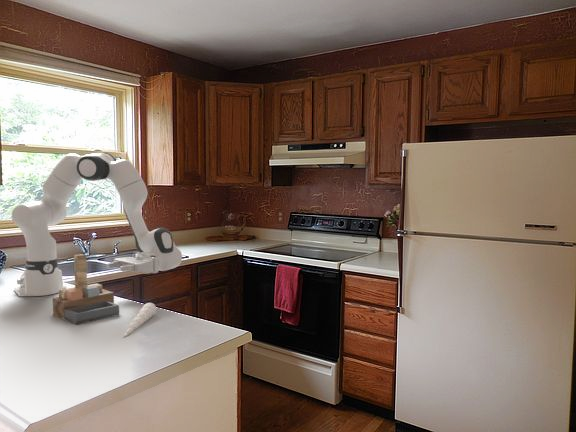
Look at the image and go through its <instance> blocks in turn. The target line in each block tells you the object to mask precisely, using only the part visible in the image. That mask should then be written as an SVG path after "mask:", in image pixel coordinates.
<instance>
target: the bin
mask: <svg viewBox="0 0 576 432" xmlns="http://www.w3.org/2000/svg"><path fill="white" fill-rule="evenodd" d="M64 313H65V319H64V320H65V321H67V322H70V323H72V324H74V325H76V326H77V325H83V324H87V323H89V322H90V323H91V322H95V321H98V320H103V319H107V318H111V317H112V318H113V317H115V316H119V315H120V304H118V303H117V304H116V303H115V302H114V303H111V302H109V301H103V302H98V303H93V304H89V305H84V306H79V307H74V308H69V309H65V310H64Z"/></svg>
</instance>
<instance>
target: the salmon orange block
mask: <svg viewBox="0 0 576 432" xmlns="http://www.w3.org/2000/svg"><path fill="white" fill-rule="evenodd" d="M66 299H68V300H71V301H73V300H78V299H83V290H81V289H78V288H77V289H71V290H66Z"/></svg>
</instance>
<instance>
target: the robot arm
mask: <svg viewBox="0 0 576 432" xmlns="http://www.w3.org/2000/svg"><path fill="white" fill-rule="evenodd" d="M106 179H107V180H110V181H111V182H112V183H113V185H114V186H115V189H116V191H117V193H118V195H119V196H120V199H121V202H122V207H123V211H124V215H125V218H126V220H127V222H128V224H129V227H130V229H131V232H132V234H133V236H134V241H135V247H136V249H137V252H138V255H137V256H136V257H132V256H125V257H115V258H114V259H113V260H112V261H113V262H110V263H109V262H108V263H107V264H106V265H107V268H108V269H113V268H116V269H119V271H120V272H133V273H138V274H143V275H146V274H158V273H159V271H161V272H163V271H164V272H165V271H169V270H172V269H176V268H177V267H179V266H180V264H181V263H182V260H183V254H182V251H181V250H180V249H179V248H178V246H176V244H175V242H174V239H173V234H172V232H171V231H170V230H169V229H167V228H166V227H159V228H156V229H153V230H151V231H150V230H149V229H148V227H147V224H146V222H145V219H144V217H143V215H142V208H143V207H144V203H145V202H146V201H147V198H148V194H149V193H148V192H149V191H148V188H147V186H146V183H145V182H144V180H143V178H142V176H141V175H140V172H139V171H138V170H137V168H136V167H135V166H134V164H133V163H132V162H131V161H130V160H129V159H122V158H121V159H118V160H117V158H116V157H115V156H114V155H112V154H110V153H108V152H94V153H90V154H89V153H88V154H85V155H83V156H82V155H79V154H77V153H67V154H66V155H65V156H64V157H63V158H61V159H60V161H58V163H57V164H56V165H55V167H54V168H53V169H52V170H51V172H50V174H49V175H48V176H47V178H46V180H45V181H44V182H43V184H42V190H43V195H42V197H41V199H40V200H38V201H26V202H23V203H20V204H17V205H16V206H15V207H14V208H13V209H12V212H11V219H12V222H13V223H14V225H15V226H17V227H18V228H19V230H20V231H21V232H22V235H23V237H24V239H25V241H24V242H25V245H26V247H25V248H26V261H25V270H24V272H23V273H22V274H21V276H20V277H19V278H18V279H16V282H17V285H20V286H17V287H14V289H13V290H14V292H15V293H16V295H17V297H42V296H43V297H44V296H50V295H53V294H59V290H63V289H67V286H66V285H64V282H63V280H64V279H63V272H62V270H61V269H59V259H58V257H57V256H58V255H57V241H56V239H55V238H54V237H53V236H52V235H51V233H50V230H49V227H54V226H56V225H58V224H60V223H63V221H65V220H66V218H67V214H68V213H67V209H66V207H67V204H68V201H69V200H70V198H71V196H72V194H73V193H74V191H75V190H76V189H77V187H78V185H79V184H80V182H81V181H82V180H85V181H92V182H93V181H94V182H97V181H102V180H106Z"/></svg>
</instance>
